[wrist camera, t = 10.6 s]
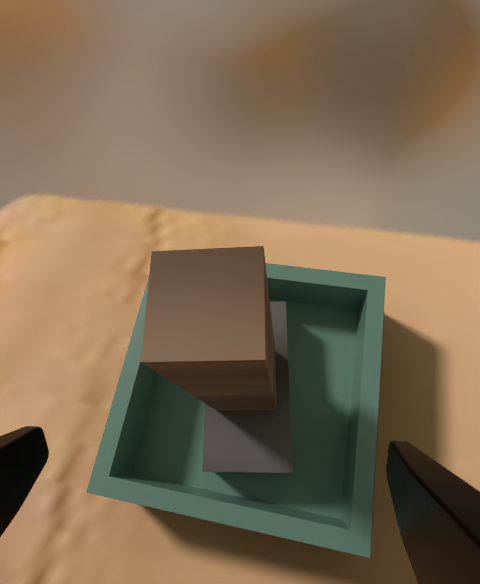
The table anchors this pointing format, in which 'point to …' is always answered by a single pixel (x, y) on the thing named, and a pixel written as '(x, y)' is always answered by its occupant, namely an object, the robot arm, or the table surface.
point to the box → (303, 412)
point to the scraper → (224, 352)
